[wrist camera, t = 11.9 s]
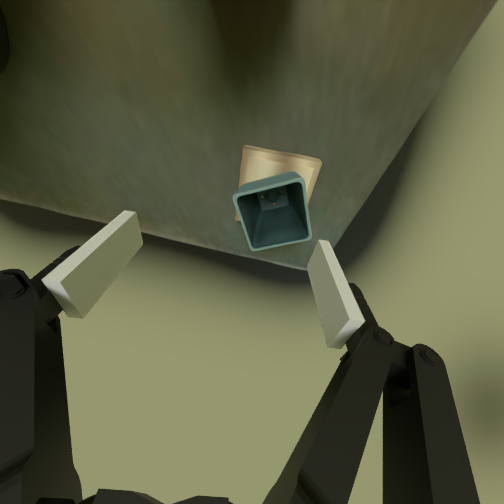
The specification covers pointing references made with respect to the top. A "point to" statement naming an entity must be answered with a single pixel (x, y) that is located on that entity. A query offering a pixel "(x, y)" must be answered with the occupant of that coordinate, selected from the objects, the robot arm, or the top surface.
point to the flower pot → (274, 211)
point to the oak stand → (277, 167)
